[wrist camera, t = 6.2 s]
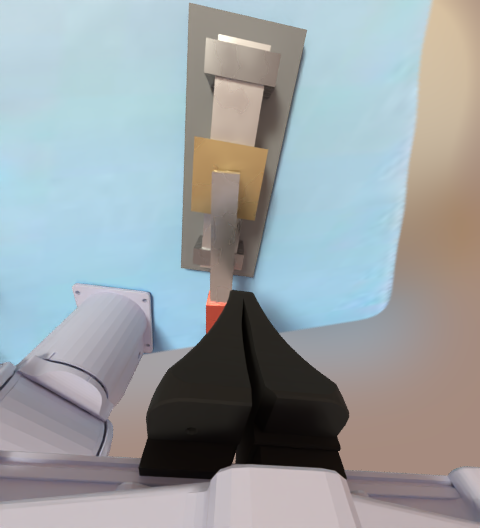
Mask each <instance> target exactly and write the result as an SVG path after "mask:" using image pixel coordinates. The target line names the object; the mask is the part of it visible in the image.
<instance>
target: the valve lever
mask: <svg viewBox="0 0 480 528" xmlns="http://www.w3.org/2000/svg"><path fill="white" fill-rule="evenodd" d="M239 180H240V172H231V171H228V170H225V171H219V170H214V171H212V187H211V265H210V291H209V294H208V299H207V304H206V334H207V333H208V331H209V330H210V329H211V328H212V326H213V325H214V323H215V322H216V321H217V319H218V317H219V316H220V314H221V313H222V311H223V309H224V307H225V305H226V303H227V300H228V298H229V293H230V291H231V290H232V279H233V264H234V250H235V236H236V222H237V208H238V194H239Z"/></svg>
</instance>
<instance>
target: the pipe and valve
mask: <svg viewBox="0 0 480 528" xmlns="http://www.w3.org/2000/svg"><path fill="white" fill-rule="evenodd" d="M270 49H271V45H266V44H262V43H257V42H253V41H248V40H244V39H239V38H235V37H230V36H226V35H221V34H219V35H218V40H215V39H211V38H206V47H205V64H204V74H205V76H206V78H207V81H208V83H209V85H210V88H214V98H213V111H212V124H211V136H210V139H208V138H202V137H197V136H194V156H193V177H192V197H191V211H194V212H201V213H204V225H203V235H200V236H199V238H198V240H197V242H196V244H195V246H194V250H193V264H198V265H200V267H205V268H210V265H211V187H212V171H214V170H219V171H225V170H228V171H231V172H240V180H239V194H238V208H237V222H236V236H235V250H234V264H233V271H234V269H235V270H241V269H242V264H243V258H244V244H243V241H239V236H240V230H241V224H242V219H246V220H253V221H255V216H256V211H257V206H258V200H259V195H260V190H261V185H262V180H263V175H264V169H265V164H266V159H267V154H268V149H263V148H257V147H254V145H255V139H256V133H257V127H258V121H259V115H260V109H261V103H262V98H264V99H269V97H270V96H271V94H272V92H273V90H274V88H275V85H276V80H277V74H278V69H279V63H280V58H281V54H279V53H275V52H270Z"/></svg>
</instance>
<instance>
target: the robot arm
mask: <svg viewBox="0 0 480 528" xmlns="http://www.w3.org/2000/svg"><path fill="white" fill-rule="evenodd" d="M72 289H73V293H74V297H75V300H76V304H77V308H76V309H75V310H74V311H73V312H72V313H71V314H70V315H69V316H68V317H67V318H66V319H65V320H64V321H63V322H62V323H61V324H60V325H59V326H57V327H56V328H55V329H54V330H53V331H52V332H51V333H50V334H49V335H48V336H47V337H46V338H45V339H44V340H43V341H42V342H41V343H40V344H39V345H38V346H37V347H36V348H34V349H33V350H32V351H31V352H30V353H29V354H28V355H27V356H26V357H25V358H24V359H23V360H22V361H21V362H20V363H19V364H17V365H16V366H15V365H13V364H12V363H11V362H5V363H2V364H0V528H480V467H468V466H467V467H460V468H456V469H454V470H453V471H451V472H450V473H449V475H448V476H442V475H425V474H407V473H388V472H371V471H354V470H344V467H343V465H342V462H341V459H340V456H339V453H338V451H340V444H339V441H338V438H337V435H338V434H339V433H340V431H341V430H342V429H343V427H344V426H345V425H346V422H347V420H348V418H349V411H348V409H347V406H346V404H345V402H344V399H343V397H342V395H341V393H340V391H339V389H338V387H337V385H336V384H335V383H334V382H332V381H331V380H330V379H328V378H327V377H326V376H324V375H323V374H321V373H320V372H319V371H317V370H316V369H315V368H314V367H312V366H311V365H310V364H309V363H308V362H306V361H305V360H304V359H303V358H302V357H301V356H300V355H299V354H297V353H296V352H295V351H294V350H293V349H292V348H291V347H290V346H289V345H288V344H287V343H286V341H285V340H284V339H283V338H282V337H281V336H280V335H279V333H278V332H277V331H276V329H275V328H274V327H273V325H272V324H271V323H270V321H269V320H268V318H267V317H266V315H265V313H264V312H263V310H262V309H261V307H260V305H259V303H258V301H257V300H256V298H255V296H254V294H253V293H252V292H245V291H237V290H231V291H230V293H229V298H228V300H227V303H226V305H225V307H224V309H223V311H222V313H221V314H220V316H219V317H218V319H217V321H216V322H215V323H214V325H213V326H212V328H211V329H210V330H209V331H208V333H207V334H206V335H205V336H204V337H203V338H202V340H201V341H200V342H199V343H198V344H197V345H196V346H195V347H194V348H193V349H192V350H191V351H190V352H189V353H188V354H186V355H185V356H184V357H183V358H182V359H181V360H179V361H178V362H177V363H176V364H175V365H173V366H172V367H171V368H169V369H168V371H167V372H166V374H165V375H164V377H163V378H162V380H161V382H160V384H159V385H158V387H157V389H156V391H155V393H154V395H153V398H152V400H151V403H150V406H149V408H148V411H147V416H146V423H147V433H148V439H147V442H146V445H145V448H144V452H143V455H142V458H126V457H109V456H108V455H109V452H110V448H111V443H112V438H113V426H112V423H111V422H110V421H109V420H108V416H109V415H110V413H111V411H112V409H113V408H114V407H115V406H116V405H117V404H118V402H119V401H120V400H121V398H122V397H123V395H124V393H125V391H126V389H127V386H128V384H129V382H130V380H131V378H132V376H133V374H134V371H135V370H136V367H137V365H138V363H139V361H140V359H141V357H142V355H143V353H151V352H152V351H153V336H152V316H151V297H150V294H149V293H148V292H146V291H137V290H129V289H121V288H113V287H105V286H96V285H88V284H80V283H76V284H74V285H73V286H72ZM78 291H79V292H78ZM144 299H146V300H144ZM235 453H236V463H235V464H232V462H233V459H234V456H235Z"/></svg>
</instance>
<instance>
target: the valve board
mask: <svg viewBox="0 0 480 528" xmlns="http://www.w3.org/2000/svg"><path fill="white" fill-rule="evenodd" d="M306 32H307V30H305V29H301V28H296V27H292V26H288V25H283V24H279V23H275V22H270V21H266V20H262V19H257V18H253V17H249V16H244V15H240V14H236V13H231V12H227V11H223V10H218V9H214V8H210V7H205V6H201V5H197V4H192V3H189V20H188V53H187V87H186V120H185V153H184V186H183V219H182V252H181V268H186V269H193V270H201V271H209V272H210V268H205V267H200V265H198V264H193V250H194V246H195V244H196V242H197V240H198V238H199V236H200V235H203V225H204V213H201V212H194V211H191V197H192V177H193V156H194V136H197V137H202V138H208V139H210V136H211V124H212V111H213V98H214V88H210V85H209V83H208V81H207V78H206V76H205V74H204V64H205V47H206V38H211V39H215V40H218V35H219V34H221V35H226V36H230V37H235V38H239V39H244V40H248V41H253V42H257V43H262V44H266V45H271V49H270V52H275V53H279V54H281V58H280V63H279V69H278V74H277V80H276V85H275V88H274V90H273V92H272V94H271V96H270V97H269V99H264V98H262V103H261V109H260V115H259V121H258V127H257V133H256V139H255V145H254V147H257V148H263V149H268V154H267V159H266V164H265V169H264V175H263V180H262V185H261V190H260V195H259V200H258V206H257V211H256V216H255V221H253V220H246V219H242V224H241V230H240V236H239V241H243V244H244V258H243V264H242V269H241V270H235V269H234V271H233V275H239V276H246V277H253V275H254V270H255V266H256V261H257V257H258V252H259V248H260V243H261V238H262V234H263V229H264V225H265V220H266V216H267V211H268V206H269V202H270V197H271V193H272V188H273V184H274V179H275V174H276V170H277V165H278V161H279V156H280V151H281V147H282V142H283V138H284V133H285V129H286V124H287V119H288V115H289V110H290V106H291V101H292V97H293V92H294V87H295V83H296V78H297V74H298V69H299V65H300V60H301V55H302V51H303V46H304V42H305V37H306Z"/></svg>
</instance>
